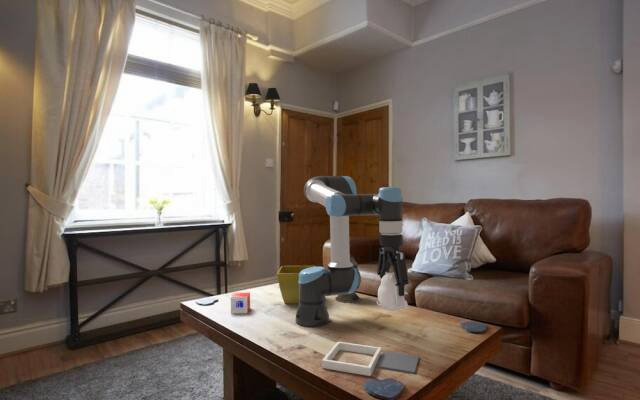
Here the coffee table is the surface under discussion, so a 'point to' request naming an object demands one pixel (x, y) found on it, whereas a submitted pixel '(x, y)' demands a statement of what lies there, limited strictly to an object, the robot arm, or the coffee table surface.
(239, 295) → the red and white cube
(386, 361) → the coaster pad
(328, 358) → the bin frame
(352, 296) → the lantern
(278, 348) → the coffee table surface
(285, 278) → the flower pot
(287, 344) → the coffee table surface
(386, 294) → the figurine
